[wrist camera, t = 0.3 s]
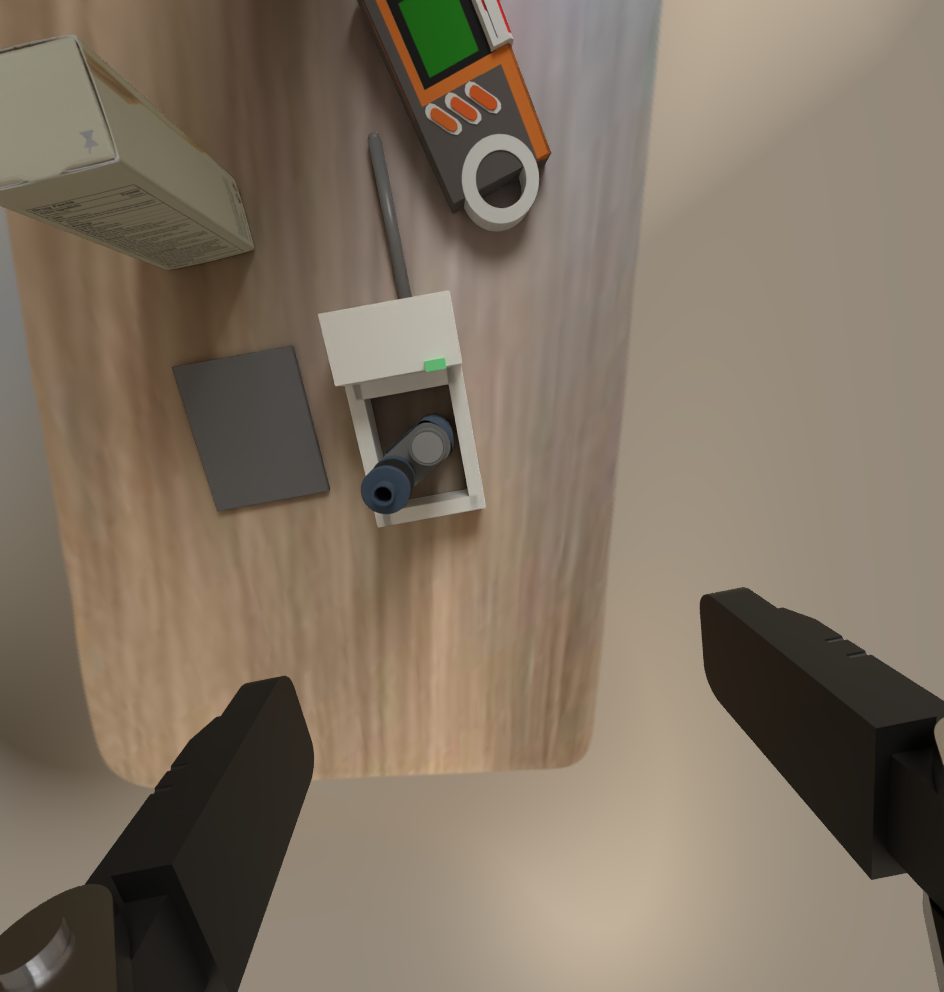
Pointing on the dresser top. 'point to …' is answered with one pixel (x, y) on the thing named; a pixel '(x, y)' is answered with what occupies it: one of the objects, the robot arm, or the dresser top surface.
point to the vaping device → (407, 464)
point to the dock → (401, 363)
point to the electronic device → (463, 99)
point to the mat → (252, 427)
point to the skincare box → (109, 161)
